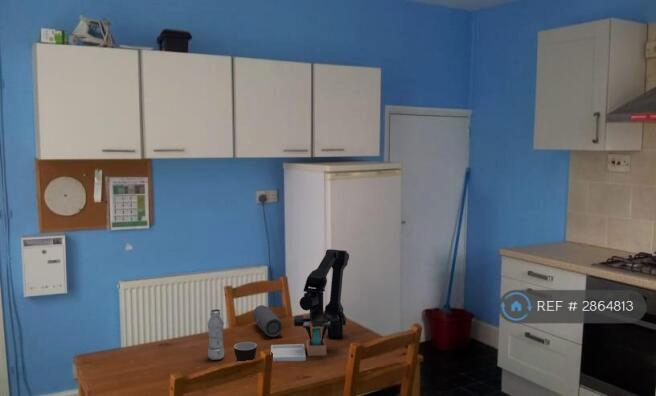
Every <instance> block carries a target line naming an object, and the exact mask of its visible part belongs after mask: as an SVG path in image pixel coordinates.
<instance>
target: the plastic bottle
mask: <svg viewBox="0 0 656 396" xmlns="http://www.w3.org/2000/svg"><path fill="white" fill-rule="evenodd" d="M207 330H208V339H209V340H208V350H207V356H208V359H210V360H212V361H219V360H222V359H223V357H224V356H225V348H224V343H223V342H224V341H223V336H224V335H223V332H224V320H223V318H222V317H221V309H217V308H216V309H211V310H210V318H209V319H208V321H207Z"/></svg>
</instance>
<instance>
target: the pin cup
mask: <svg viewBox="0 0 656 396" xmlns="http://www.w3.org/2000/svg"><path fill="white" fill-rule="evenodd" d="M306 352H307V356H308V357H311V356H312V357H314V356H316V357H317V356H327V344H326V340H325V339H324V338H323V341H322V340H321V345H315V346H312V339H311V341H310V339H306Z"/></svg>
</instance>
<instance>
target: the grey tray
mask: <svg viewBox="0 0 656 396" xmlns="http://www.w3.org/2000/svg"><path fill="white" fill-rule="evenodd" d="M305 349H306V348H305V344H304V343H297V344H291V343H290V344H271V345H270V353H271V352H272V353H273V362H272V363H276V362H277V363H278V362H279V363H280V362H282V363H283V362H305V361H307V360H306V358H307V357H306V355H307V354H306V350H305Z"/></svg>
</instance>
